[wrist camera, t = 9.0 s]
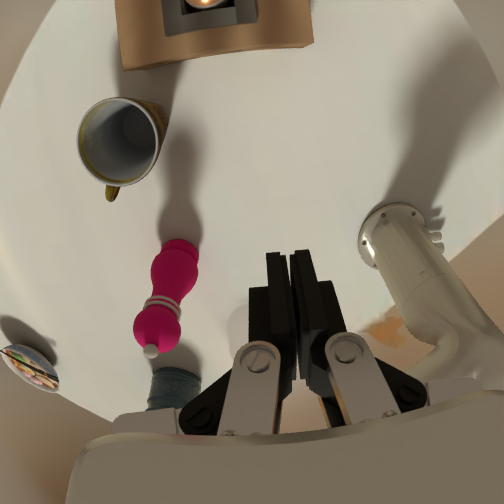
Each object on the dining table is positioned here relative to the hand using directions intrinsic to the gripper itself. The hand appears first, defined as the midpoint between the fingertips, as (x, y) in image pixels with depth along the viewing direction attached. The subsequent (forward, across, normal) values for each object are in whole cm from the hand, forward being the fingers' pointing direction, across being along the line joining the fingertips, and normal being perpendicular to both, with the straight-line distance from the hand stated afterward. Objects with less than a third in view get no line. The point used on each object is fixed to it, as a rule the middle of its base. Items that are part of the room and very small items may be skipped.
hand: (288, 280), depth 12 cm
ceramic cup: (+29, +16, -2) cm, 33 cm away
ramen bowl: (+29, +75, +51) cm, 95 cm away
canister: (+29, +27, +57) cm, 70 cm away
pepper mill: (+29, +15, +18) cm, 38 cm away
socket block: (+29, +4, -18) cm, 34 cm away
